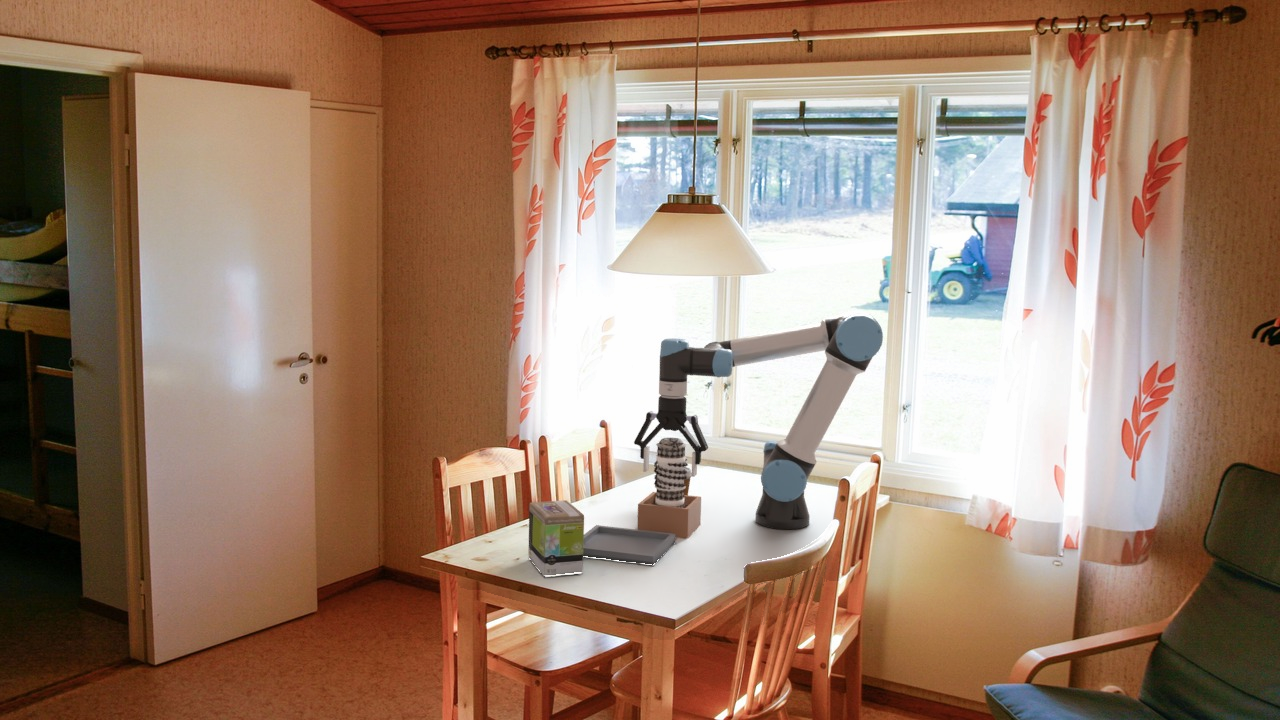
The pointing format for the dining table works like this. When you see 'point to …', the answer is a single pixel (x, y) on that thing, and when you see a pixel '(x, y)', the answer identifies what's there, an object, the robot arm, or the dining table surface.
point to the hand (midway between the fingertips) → (669, 473)
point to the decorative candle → (670, 472)
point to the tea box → (556, 537)
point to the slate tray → (626, 544)
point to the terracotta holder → (670, 516)
